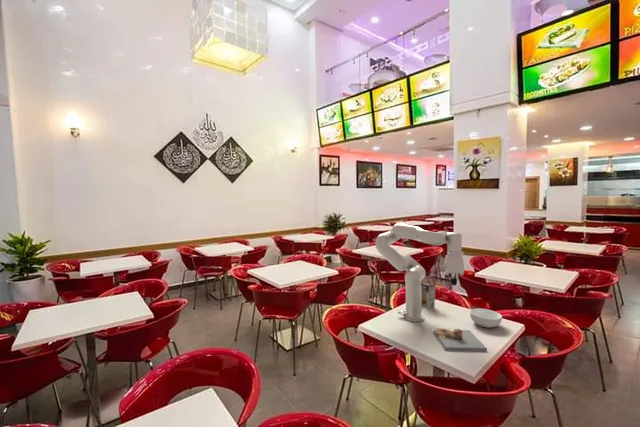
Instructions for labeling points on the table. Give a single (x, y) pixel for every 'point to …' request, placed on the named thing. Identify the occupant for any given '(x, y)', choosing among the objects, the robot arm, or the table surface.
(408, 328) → the table surface
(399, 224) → the robot arm
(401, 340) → the table surface
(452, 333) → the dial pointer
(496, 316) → the cereal bowl
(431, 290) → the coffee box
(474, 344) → the grey flat square slab
